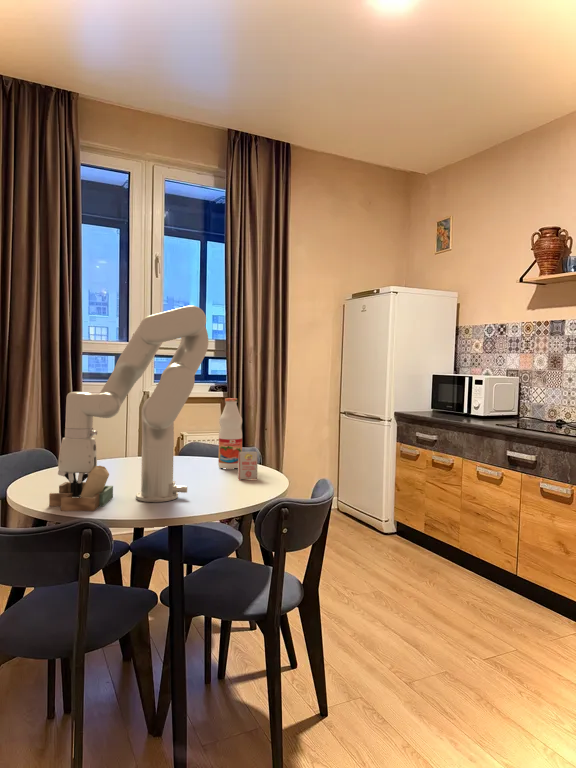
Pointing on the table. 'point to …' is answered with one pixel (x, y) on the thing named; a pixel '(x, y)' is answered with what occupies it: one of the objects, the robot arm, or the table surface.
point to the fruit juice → (230, 435)
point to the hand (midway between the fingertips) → (76, 495)
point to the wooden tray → (79, 499)
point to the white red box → (247, 465)
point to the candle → (95, 481)
